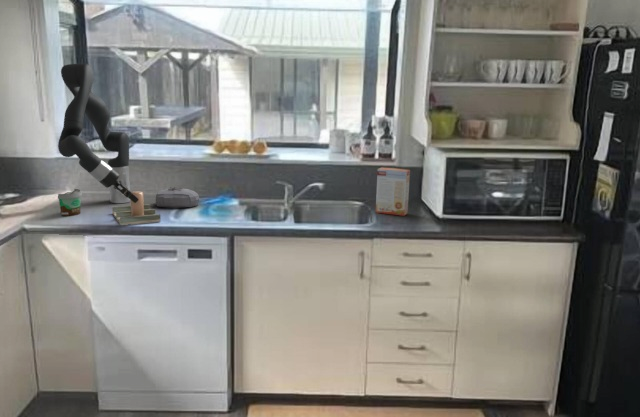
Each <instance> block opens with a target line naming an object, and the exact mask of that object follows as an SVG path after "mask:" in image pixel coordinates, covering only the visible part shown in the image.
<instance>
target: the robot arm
mask: <svg viewBox="0 0 640 417" xmlns="http://www.w3.org/2000/svg"><path fill="white" fill-rule="evenodd" d="M60 73H61V74H60V75H61V79H62V81H63V83H64V85H65V86H66V87H67V88H68V90H69V91H70V93H71V94H72V95H73V96H74V98H73V99H72V100H71V101H70V103H69V104H68V105H67V107H66V109H65V112H64V120H63V127H62V130H61V133H60V136H59V138H58V144H57V148H58V151H59V153H60V155H61V156H63V157H65V158H71V157H74V156H77V157H78V159H79V161H78V164H79V166H80V167H82V168H83V169H84V170H85V171H86V172H87V173H89V174H90V175H91V176H92V177H93V178H94V179H95V180H96V181H97V182H99V183H100V184H101V185H102V186H104V187H105V188H107V189H108V188H109V198H110V199H109V202H110V203H113V204H124V203H125V204H126V203H131V201H130V199H131V200H132V201H133V202H134V203H136V202H137V201H138V200H139V199H138V198H137V197H136V196H134V195H133V194H132V192H133V191H131V184H130V182H131V181H130V165H129V164H130V163H129V161H130V138H129V135H128V133H126V132H125V131H111V130H110V129H109V128H108V124H109V121H110V117H111V113H110V110H109V108H108V107H107V105H106V103H105V102H104V100H103V99H102V98H101V97H100V96H98V95H96V94H94V93H93V91H92V87H93V84H94V82H93V81H94V71H93V68H92V67H91V66H90V65H89V64H88V63H84V62H83V63H70V64H69V63H68V64H64V65H63V66H61V69H60ZM91 91H92V92H91ZM85 115H86V118H87V119H88V120H89V121H90V123H91V125H92V126H93V127H94V130H95V131H96V133H97V135H98V138H99V139H100V142H101V144H102V146H103V148H104V150H106V151H108V152H112V153H113V152H117V156H116V157H114V158H110V159H108V160H107V162H105V161H104V160H102V159H101V158H100V157H99V156H98V155H96V154H95V153H94V152H93V151H92V149H91V148H90V147H89V145H88V144H87V142H86V141H85V140H84V139H83V138H82V137H80V136H79V135H80V134H81V133H82V132H83V128H84V121H85V119H84V118H85Z"/></svg>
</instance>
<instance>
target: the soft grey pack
mask: <svg viewBox="0 0 640 417" xmlns="http://www.w3.org/2000/svg"><path fill="white" fill-rule="evenodd" d="M199 201H200V196H199V194H198V193H197V191H194V190H192V189H189V188H182V187H171V188H165V189H161V190H158V191H157V192H156V194H155V203H156V204H155V205H156V207H160V208H169V209H170V208H171V209H184V208H191V207H192V208H193V207H196V206H198V205H199Z"/></svg>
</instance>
